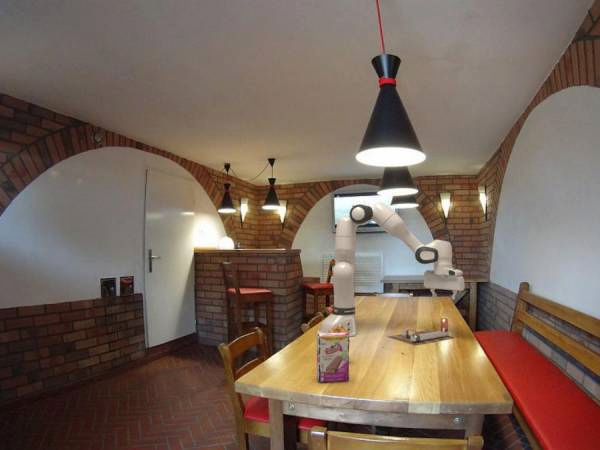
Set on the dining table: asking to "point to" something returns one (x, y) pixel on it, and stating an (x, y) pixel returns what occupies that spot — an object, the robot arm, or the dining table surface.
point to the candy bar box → (332, 357)
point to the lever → (443, 332)
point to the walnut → (411, 333)
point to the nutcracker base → (404, 338)
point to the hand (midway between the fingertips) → (443, 298)
